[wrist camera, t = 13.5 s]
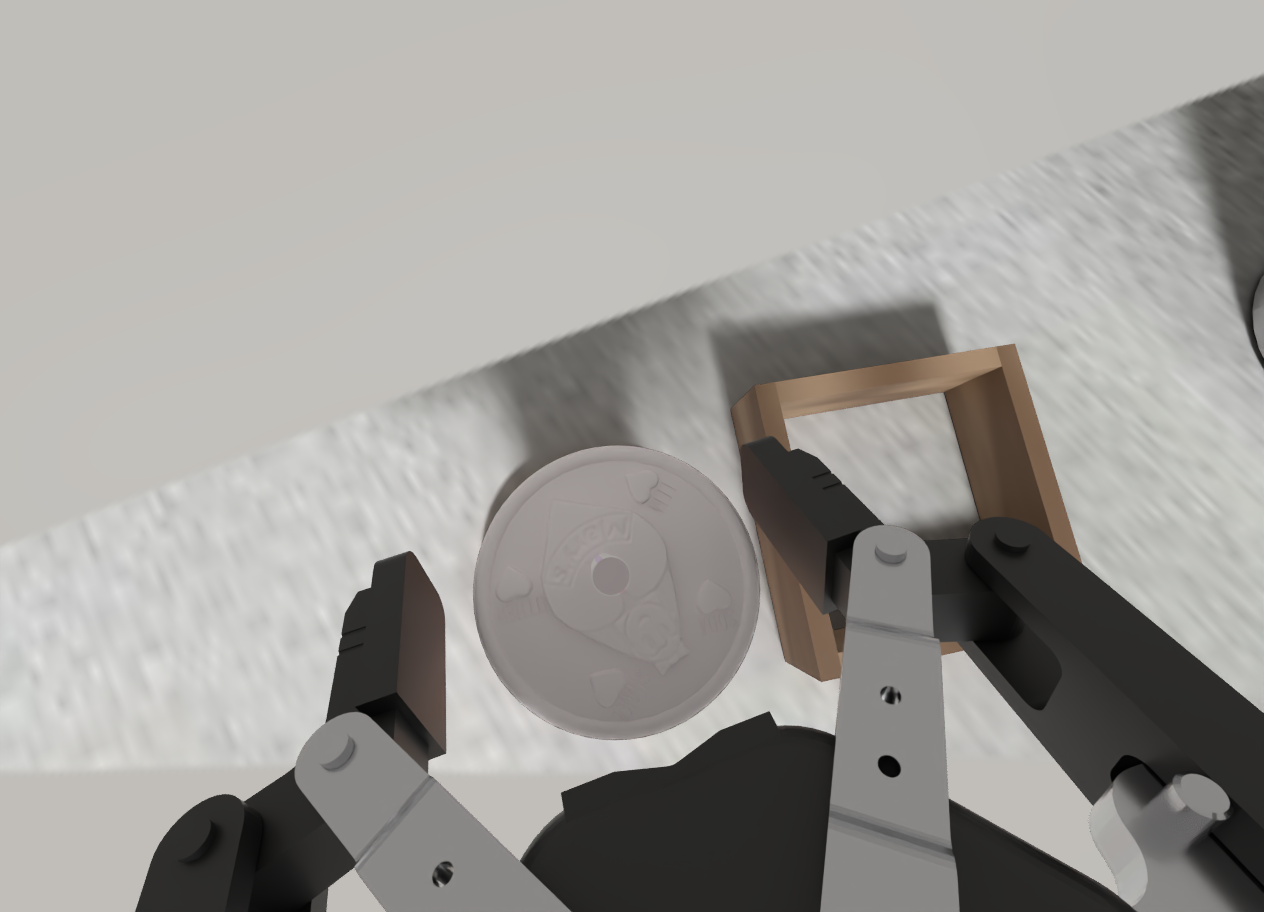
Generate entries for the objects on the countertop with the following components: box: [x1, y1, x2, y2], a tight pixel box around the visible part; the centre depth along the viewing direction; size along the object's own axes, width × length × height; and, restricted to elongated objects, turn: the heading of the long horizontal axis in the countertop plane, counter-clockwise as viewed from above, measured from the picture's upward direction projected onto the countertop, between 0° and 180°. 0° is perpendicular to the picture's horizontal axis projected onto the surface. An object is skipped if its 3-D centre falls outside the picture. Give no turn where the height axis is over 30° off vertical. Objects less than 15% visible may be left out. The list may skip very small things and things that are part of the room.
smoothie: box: [473, 445, 760, 740], centre depth 15 cm, size 6×6×14 cm
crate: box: [731, 344, 1082, 682], centre depth 22 cm, size 11×11×4 cm
